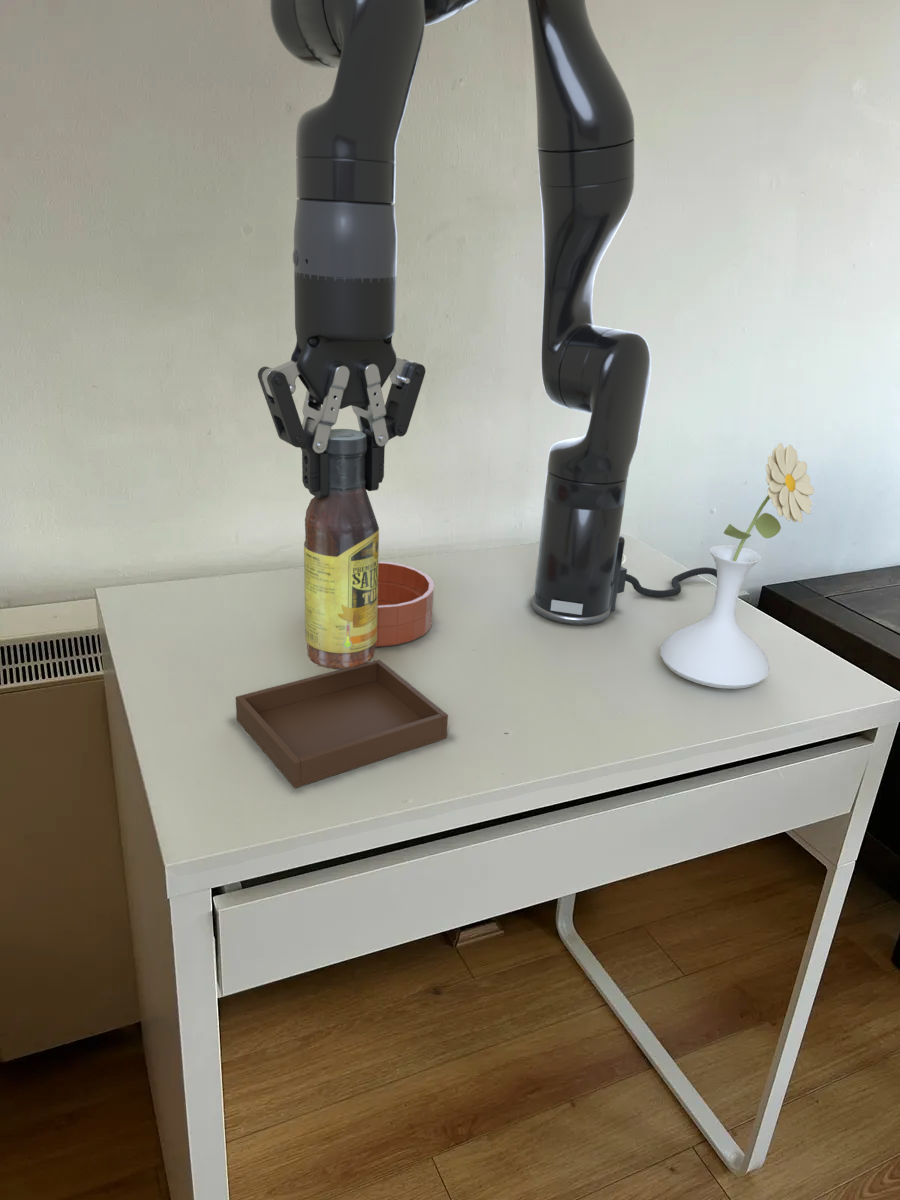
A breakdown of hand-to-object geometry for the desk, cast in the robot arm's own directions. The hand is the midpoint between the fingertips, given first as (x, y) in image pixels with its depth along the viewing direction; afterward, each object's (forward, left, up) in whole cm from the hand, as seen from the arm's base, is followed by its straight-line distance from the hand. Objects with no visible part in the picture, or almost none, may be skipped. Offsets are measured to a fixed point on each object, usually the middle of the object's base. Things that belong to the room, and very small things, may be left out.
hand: (344, 490), depth 73 cm
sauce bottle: (0, 0, -15) cm, 15 cm away
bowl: (-14, -18, -23) cm, 32 cm away
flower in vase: (-40, +10, -23) cm, 48 cm away
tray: (0, 0, -23) cm, 23 cm away
